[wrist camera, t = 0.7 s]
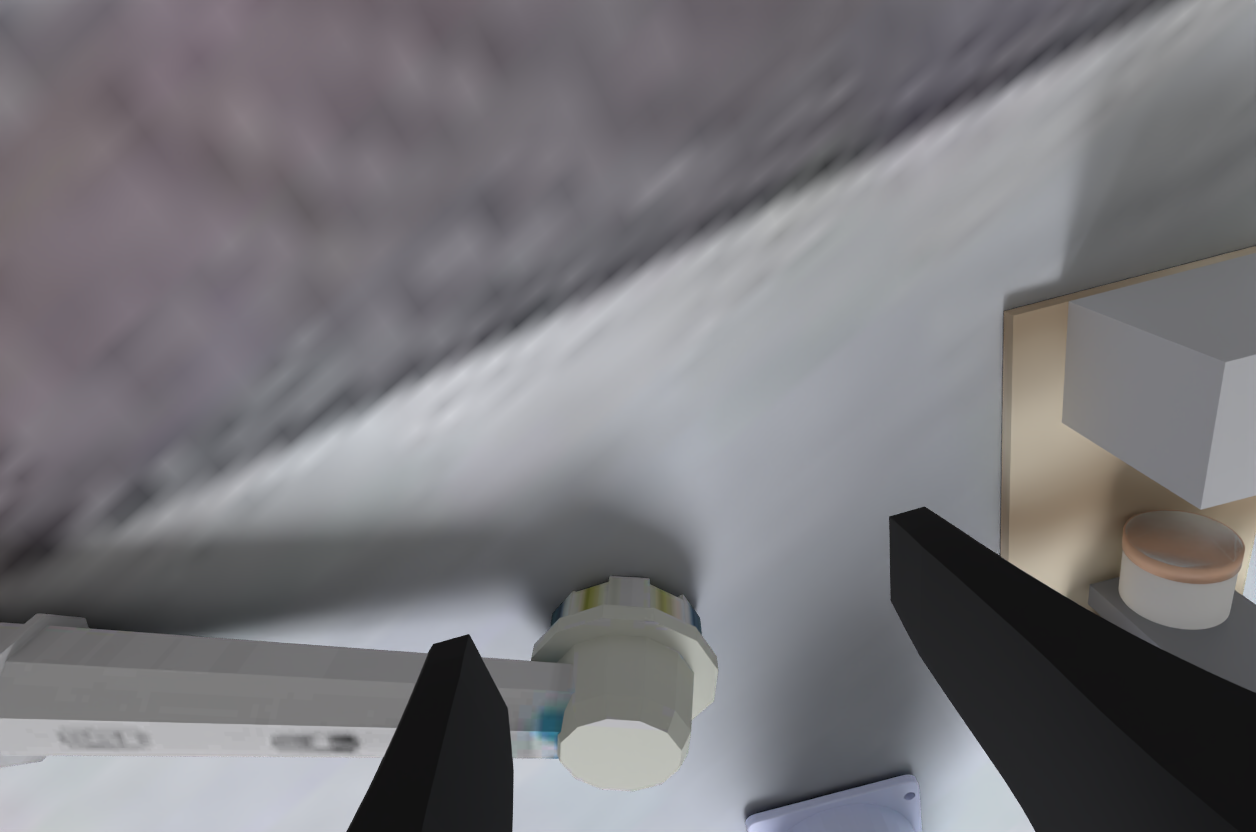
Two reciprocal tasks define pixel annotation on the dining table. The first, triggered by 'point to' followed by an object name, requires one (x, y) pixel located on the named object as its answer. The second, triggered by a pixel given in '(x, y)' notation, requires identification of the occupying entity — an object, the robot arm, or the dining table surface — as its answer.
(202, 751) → the grey capped rod
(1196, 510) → the board
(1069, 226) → the dining table surface
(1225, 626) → the tube
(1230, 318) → the socket
